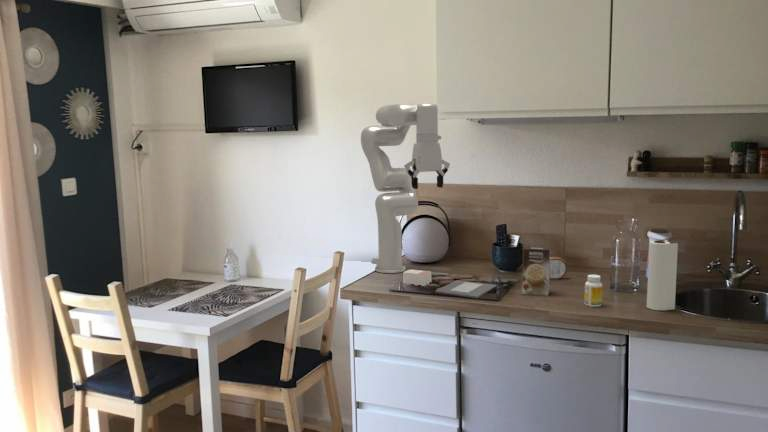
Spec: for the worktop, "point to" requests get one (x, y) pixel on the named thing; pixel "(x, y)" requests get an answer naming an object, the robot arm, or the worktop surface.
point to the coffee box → (536, 270)
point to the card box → (417, 277)
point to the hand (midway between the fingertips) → (427, 187)
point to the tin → (557, 268)
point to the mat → (466, 288)
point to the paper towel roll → (662, 275)
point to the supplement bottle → (593, 291)
